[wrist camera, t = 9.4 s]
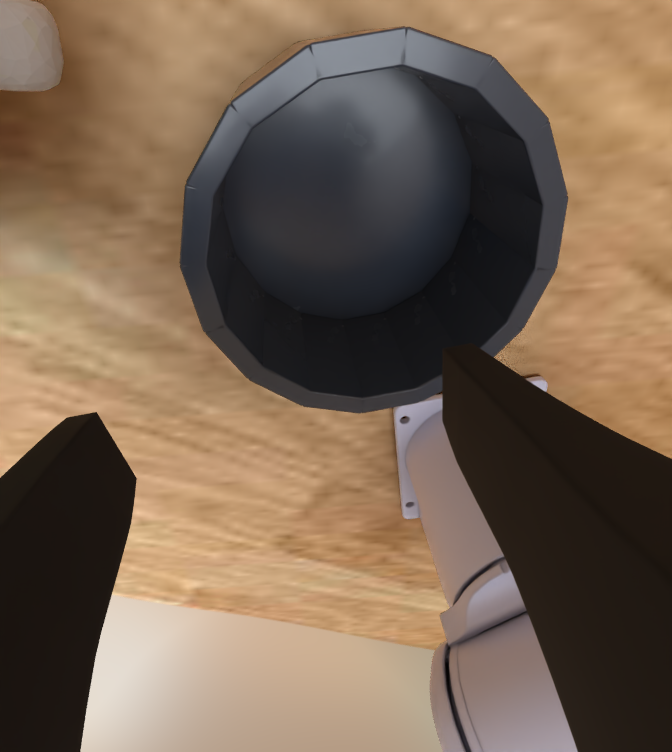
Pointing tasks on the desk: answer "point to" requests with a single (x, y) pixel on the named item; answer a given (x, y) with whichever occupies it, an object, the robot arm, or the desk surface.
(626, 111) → the desk surface
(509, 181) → the tin
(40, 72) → the teacup
